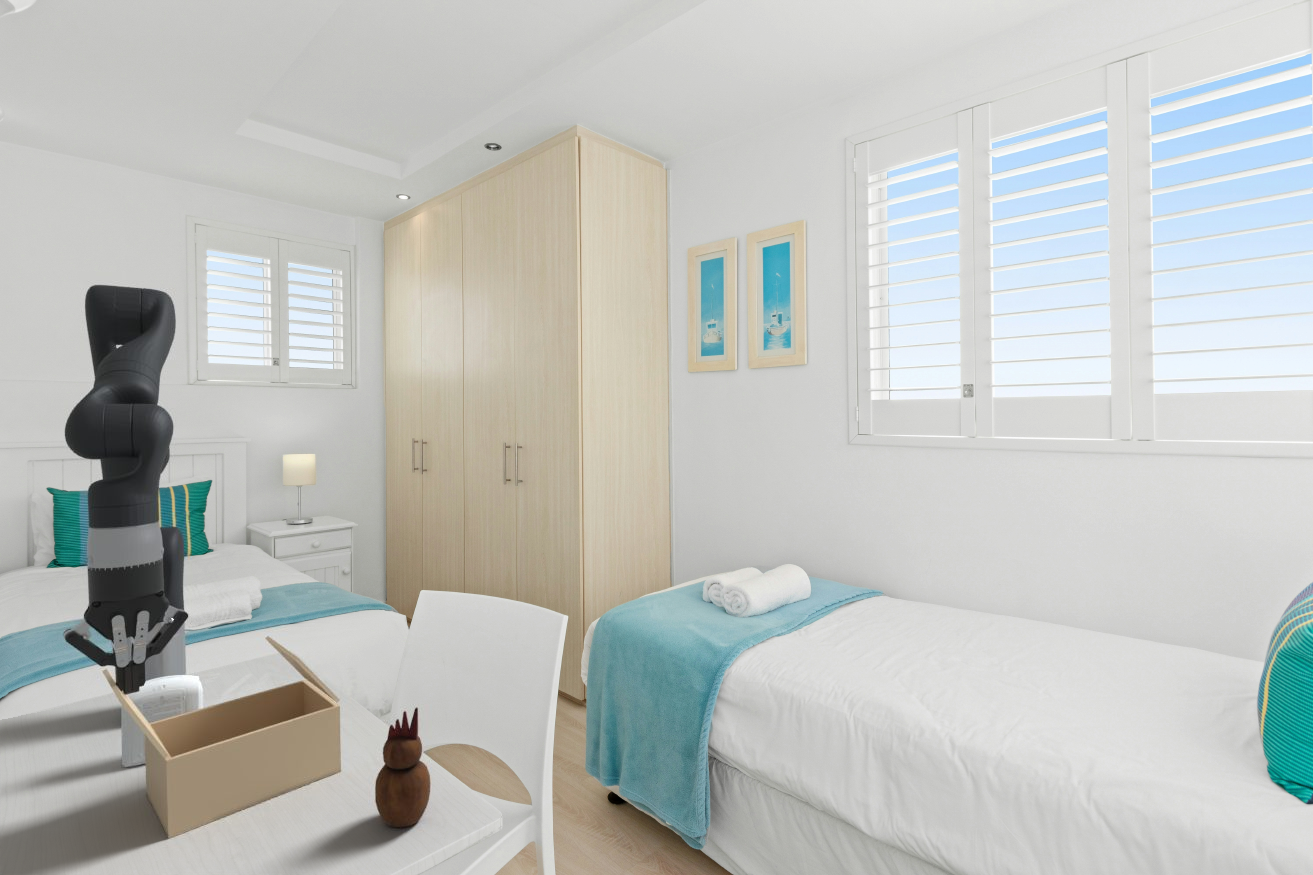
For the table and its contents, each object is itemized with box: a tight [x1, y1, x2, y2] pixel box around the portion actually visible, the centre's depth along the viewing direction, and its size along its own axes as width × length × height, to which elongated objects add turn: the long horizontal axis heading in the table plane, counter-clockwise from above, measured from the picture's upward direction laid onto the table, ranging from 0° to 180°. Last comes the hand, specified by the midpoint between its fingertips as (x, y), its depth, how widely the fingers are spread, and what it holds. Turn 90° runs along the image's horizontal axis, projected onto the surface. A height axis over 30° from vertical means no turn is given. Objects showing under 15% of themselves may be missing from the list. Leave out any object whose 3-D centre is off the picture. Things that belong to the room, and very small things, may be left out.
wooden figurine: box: [374, 707, 431, 828], centre depth 85 cm, size 7×6×15 cm
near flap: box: [102, 668, 169, 759], centre depth 85 cm, size 14×10×1 cm
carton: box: [144, 679, 342, 839], centre depth 94 cm, size 14×21×10 cm, turn 137°
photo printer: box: [120, 674, 204, 768], centre depth 101 cm, size 10×4×12 cm, turn 123°
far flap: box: [264, 636, 341, 703], centre depth 99 cm, size 14×10×1 cm
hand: (130, 691), depth 84 cm, fingers closed
